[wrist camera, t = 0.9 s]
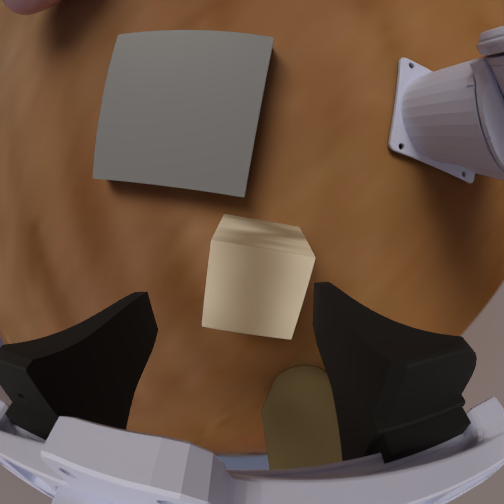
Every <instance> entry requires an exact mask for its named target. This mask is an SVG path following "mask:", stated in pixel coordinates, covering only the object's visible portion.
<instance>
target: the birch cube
mask: <svg viewBox="0 0 504 504" xmlns="http://www.w3.org/2000/svg"><path fill="white" fill-rule="evenodd" d="M314 262H315V256H314V254H313V252H312V250H311V248H310V246H309V244H308V242H307V240H306V238H305V236H304V235H303V233H302V231H301V229H300V227H296V226H291V225H286V224H280V223H274V222H269V221H263V220H257V219H252V218H246V217H240V216H234V215H228V214H224V215H223V217H222V219H221V221H220V223H219V225H218V228H217V230H216V232H215V234H214V236H213V238H212V240H211V247H210V255H209V263H208V271H207V280H206V289H205V298H204V308H203V318H202V326H203V327H208V328H214V329H220V330H226V331H232V332H238V333H245V334H251V335H259V336H266V337H274V338H282V339H290V340H291V339H292V336H293V333H294V330H295V326H296V323H297V320H298V317H299V314H300V310H301V307H302V304H303V300H304V297H305V294H306V290H307V287H308V283H309V280H310V276H311V273H312V269H313V265H314Z"/></svg>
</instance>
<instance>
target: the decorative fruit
mask: <svg viewBox="0 0 504 504" xmlns="http://www.w3.org/2000/svg"><path fill="white" fill-rule="evenodd" d="M59 1H61V0H3V2H4V3H5V5H6V6H7V7H8V8H9V9H10V10H12V11H14V12H16V13H18V14H21V15H29V14H34V13H37V12H40V11H43V10H45V9H47V8H49V7H51V6H53V5H54V4H56V3H58V2H59Z"/></svg>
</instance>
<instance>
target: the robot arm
mask: <svg viewBox="0 0 504 504" xmlns="http://www.w3.org/2000/svg"><path fill="white" fill-rule="evenodd" d="M477 49H478V50H479V52H480V54H481V55H482V56H483V55H485V56H483V57H481V58H478V59H475V60H471V61H468V62H464V63H460V64H457V65H454V66H450V67H447V68H444V69H441V70H438V71H435V72H432V71H431V70H429V69H427V68H425V67H423V66H421V65H419V64H417V63H415V62H413V61H411V60H409V59H407V58H401V59H400V60H399V66H398V77H397V87H396V96H395V103H394V111H393V118H392V124H391V130H390V136H389V142H388V145H389V148H390V149H391V150H392V151H395V152H398V153H400V154H403V155H406V156H408V157H411V158H413V159H416V160H418V161H421V162H423V163H426V164H428V165H431V166H433V167H435V168H438V169H440V170H442V171H444V172H446V173H449V174H451V175H453V176H455V177H457V178H459V179H461V180H463V181H465V182H467V183H472V182H473V181H474V177H475V173H476V174H480V175H484V176H488V177H492V178H496V179H500V180H504V26H501V27H498V28H494V29H491V30H488V31H486V32H483V33H481V34H480V35H479V43H478V44H477ZM409 64H410V65H411V66H412V68H410V67H409ZM399 144H401V145H402V149H401V150H400V149H399ZM462 172H463V176H462ZM313 327H314V333H315V338H316V343H317V346H318V349H319V352H320V355H321V358H322V360H323V363H324V366H325V369H326V372H327V375H328V378H329V381H330V385H331V388H332V393H333V398H334V403H335V409H336V415H337V421H338V427H339V435H340V443H341V452H342V462H336V463H331V464H324V465H317V466H310V467H301V468H291V469H277V470H253V471H251V470H250V471H249V470H248V471H239V470H227V469H226V466H225V464H224V463H223V462H222V461H221V460H220V459H219V458H218V457H216V456H215V455H214V454H213V453H212V452H211V451H210V450H208V449H205V448H203V447H201V446H198V445H196V444H194V443H191V442H189V441H184V440H179V439H175V438H171V437H166V436H160V435H153V434H147V433H140V432H135V431H130V430H126V426H127V421H128V417H129V412H130V407H131V404H132V400H133V396H134V392H135V390H136V387H137V384H138V382H139V379H140V377H141V375H142V372H143V370H144V368H145V366H146V363H147V361H148V359H149V356H150V354H151V352H152V349H153V347H154V343H155V340H156V336H157V332H158V328H157V324H156V321H155V318H154V314H153V311H152V307H151V304H150V300H149V296H148V292H135V293H132V294H130V295H128V296H126V297H124V298H123V299H121V300H119V301H118V302H116V303H114V304H113V305H111V306H109V307H108V308H106V309H104V310H103V311H101V312H99V313H97V314H96V315H94V316H92V317H90V318H89V319H87V320H85V321H83V322H81V323H79V324H77V325H75V326H73V327H70V328H68V329H66V330H63V331H61V332H58V333H55V334H52V335H49V336H47V337H43V338H39V339H36V340H31V341H27V342H21V343H14V344H6V345H3V346H1V347H0V385H1V386H2V388H3V389H4V391H5V392H6V394H7V395H8V396H9V398H10V399H11V400H12V402H13V403H12V404H11V405H10V406H8V405H7V404H6V403H5V402H4V401H2V400H0V464H1V465H2V466H4V467H5V468H6V469H8V470H9V471H10V472H12V473H13V474H15V475H16V476H17V477H19V478H20V479H22V480H23V481H25V482H26V483H28V484H29V485H31V486H33V487H34V488H36V489H37V490H39V491H40V492H42V493H44V494H45V495H47V496H49V497H50V498H52V499H53V501H52V504H446V503H448V502H450V501H451V500H453V499H455V498H457V497H459V496H461V495H462V494H464V493H466V492H467V491H469V490H471V489H472V488H474V487H476V486H477V485H479V484H480V483H482V482H484V481H485V480H486V479H488V478H489V477H490V476H491V475H492V474H494V473H495V472H496V471H497V470H498V469H499V468H500V467H502V466H503V465H504V409H503V408H502V406H501V405H500V403H499V402H498V400H497V399H496V397H491V398H489V399H488V400H486V401H484V402H482V403H480V404H478V405H476V406H474V407H473V408H471V409H470V410H469V411H468V412H467V413H465V411H464V409H463V408H462V406H464V404H465V400H464V398H463V397H462V395H461V394H462V392H463V391H464V389H465V387H466V385H467V383H468V382H469V380H470V378H471V376H472V374H473V371H474V369H475V366H476V359H477V358H476V354H475V352H474V351H473V349H472V348H471V347H470V346H469V345H468V343H467V342H466V341H465V340H464V339H463V337H460V336H452V335H444V334H437V333H432V332H428V331H423V330H420V329H416V328H412V327H409V326H406V325H404V324H401V323H398V322H395V321H393V320H391V319H388V318H386V317H384V316H382V315H380V314H378V313H376V312H374V311H372V310H370V309H369V308H367V307H365V306H363V305H362V304H360V303H359V302H357V301H356V300H354V299H353V298H351V297H350V296H348V295H347V294H345V293H344V292H343V291H341V290H340V289H338V288H337V287H336V286H334V285H333V284H331V283H329V282H321V283H314V305H313Z"/></svg>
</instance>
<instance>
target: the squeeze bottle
mask: <svg viewBox="0 0 504 504" xmlns="http://www.w3.org/2000/svg"><path fill="white" fill-rule="evenodd" d="M261 414H262V421H263V427H264V434H265V441H266V448H267V454H268V461H269V467H270V470H277V469H291V468H301V467H310V466H317V465H324V464H331V463H336V462H342V452H341V443H340V435H339V427H338V421H337V415H336V409H335V403H334V398H333V393H332V388H331V385H330V381H329V378H328V375H327V373H326V372H325V371H324V370H322V369H320V368H318V367H316V366H306V365H304V366H298V367H292V368H290V369H288V370H286V371H283V372H282V373H281V374H279V375H278V376H277V377H276V378H275V379H274V382H273V384H272V387H271V389H270V392H269V394H268V397H267V399H266V402H265V404H264V407H263V409H262V411H261Z"/></svg>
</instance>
